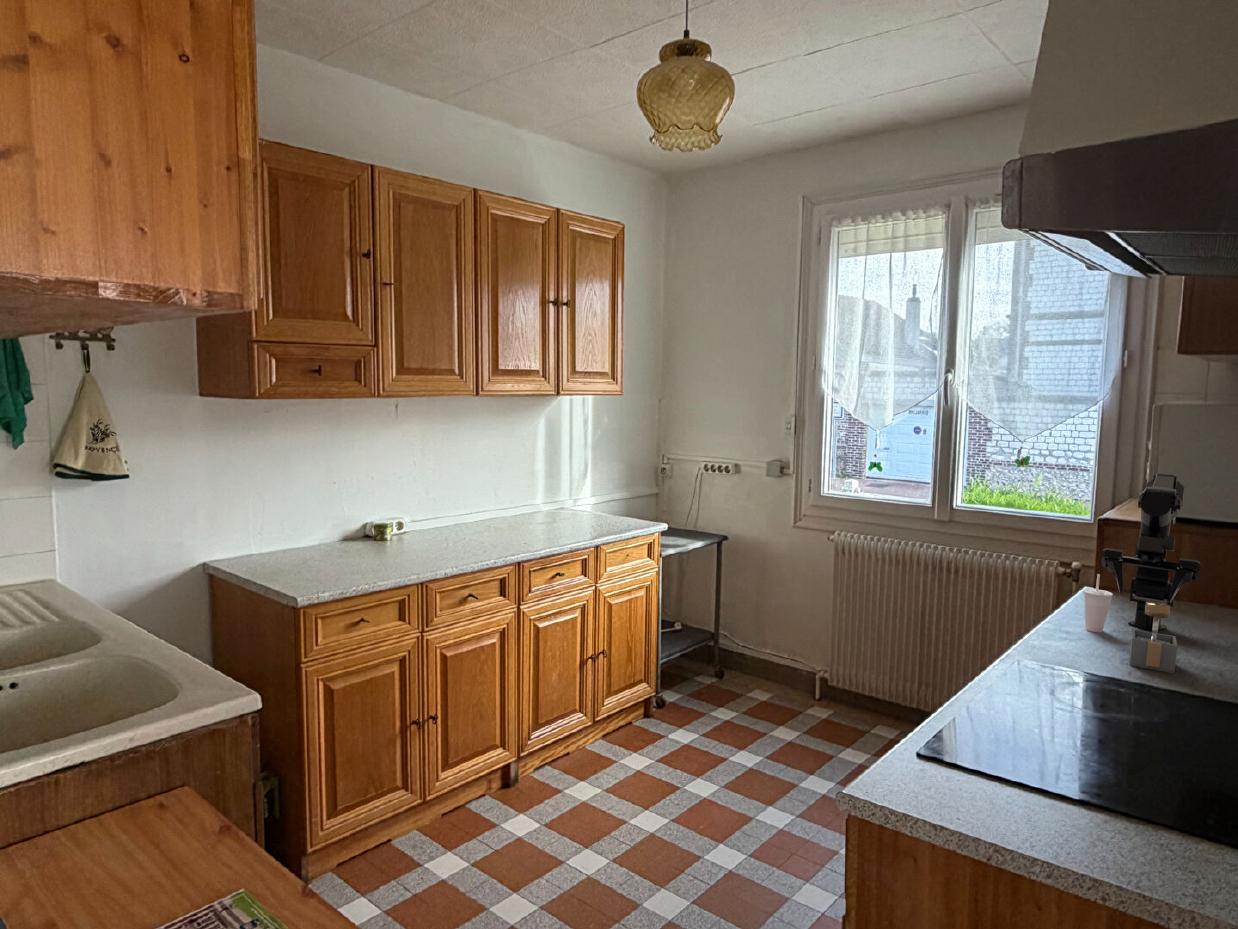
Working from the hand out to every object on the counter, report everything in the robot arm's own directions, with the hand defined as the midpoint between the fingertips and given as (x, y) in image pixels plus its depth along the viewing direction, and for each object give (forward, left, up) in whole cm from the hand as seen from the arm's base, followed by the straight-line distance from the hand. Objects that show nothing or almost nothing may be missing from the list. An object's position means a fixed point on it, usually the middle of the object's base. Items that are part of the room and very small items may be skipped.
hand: (1144, 597), depth 181 cm
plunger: (+6, +5, -8) cm, 11 cm away
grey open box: (+6, +5, -13) cm, 15 cm away
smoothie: (-8, -14, -13) cm, 21 cm away
